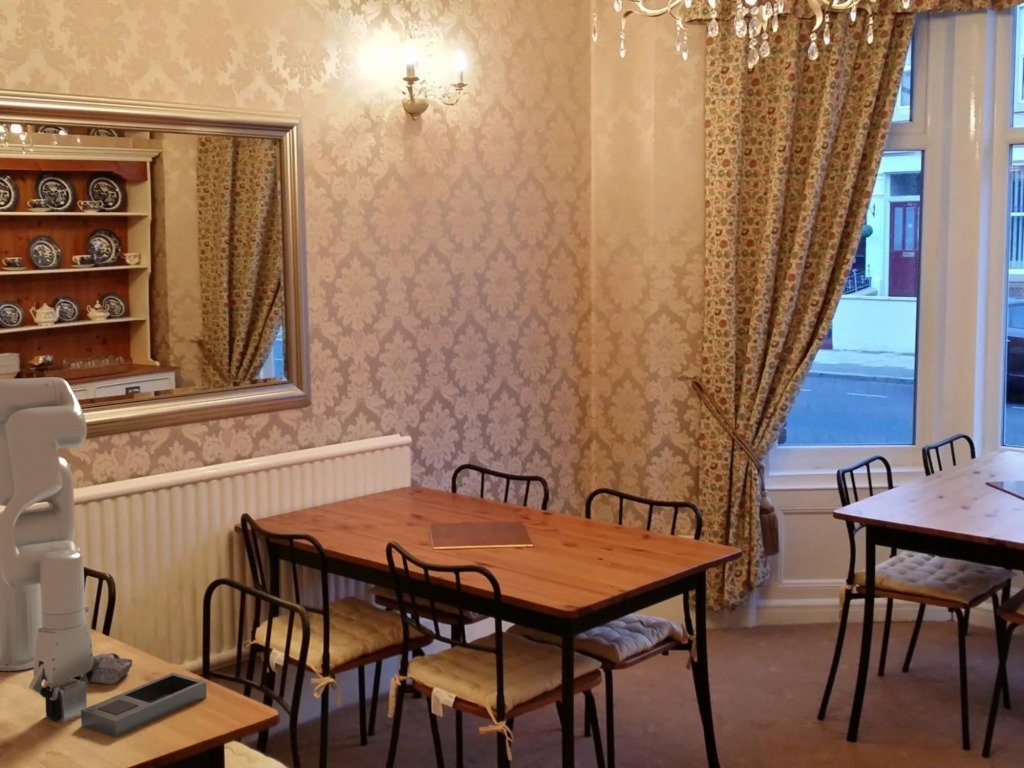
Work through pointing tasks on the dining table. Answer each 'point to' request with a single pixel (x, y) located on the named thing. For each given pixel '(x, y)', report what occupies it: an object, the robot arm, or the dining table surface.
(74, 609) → the robot arm
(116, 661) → the rock
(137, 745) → the dining table surface
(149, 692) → the grey tray with recess
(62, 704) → the gray cube
